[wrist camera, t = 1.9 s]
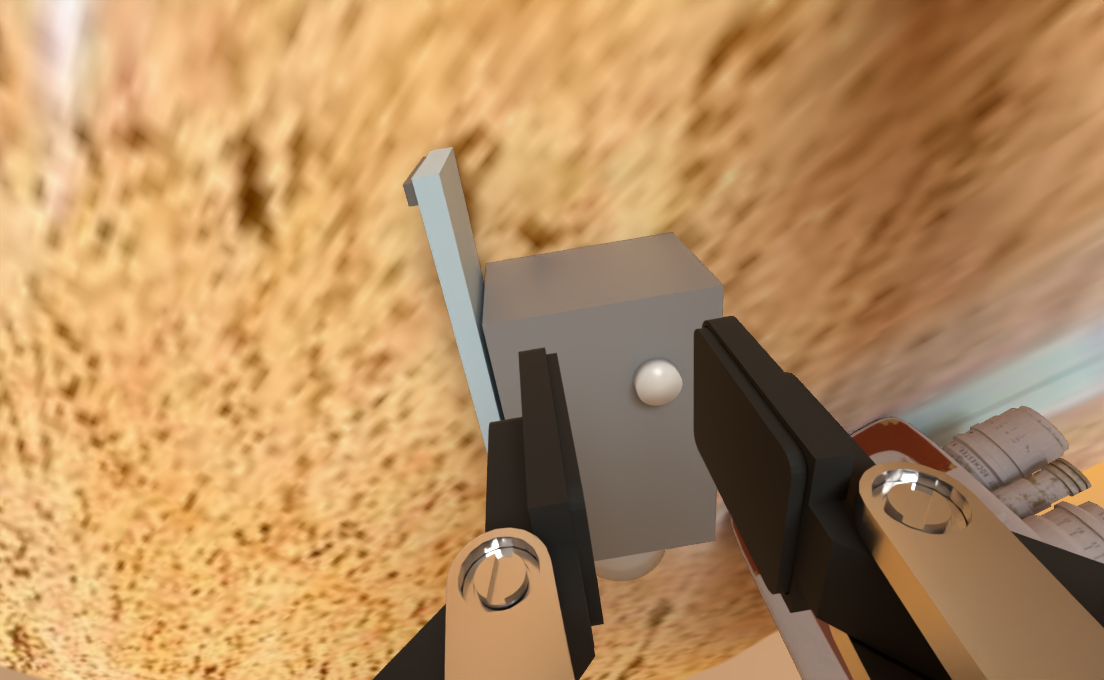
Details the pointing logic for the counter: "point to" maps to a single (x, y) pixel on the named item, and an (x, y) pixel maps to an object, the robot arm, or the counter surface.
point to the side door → (457, 273)
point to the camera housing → (617, 383)
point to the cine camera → (993, 476)
